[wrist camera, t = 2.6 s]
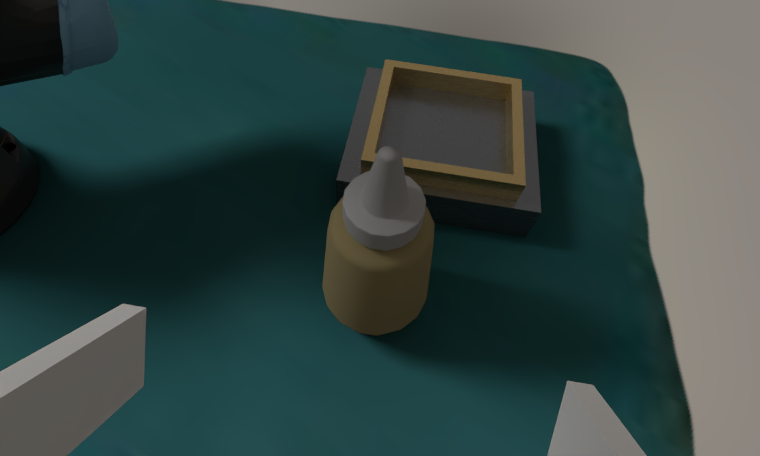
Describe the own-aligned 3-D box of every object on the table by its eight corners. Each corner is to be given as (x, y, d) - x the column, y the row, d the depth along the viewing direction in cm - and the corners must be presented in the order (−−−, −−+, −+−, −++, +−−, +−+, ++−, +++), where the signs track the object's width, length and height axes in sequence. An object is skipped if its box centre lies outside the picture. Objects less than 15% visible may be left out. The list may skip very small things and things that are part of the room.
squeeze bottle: (440, 298, 36) (505, 151, 20) (379, 371, 32) (403, 260, 17) (368, 243, 38) (379, 76, 23) (304, 306, 35) (267, 157, 19)
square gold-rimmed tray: (337, 206, 40) (335, 164, 35) (366, 96, 49) (368, 50, 44) (525, 236, 39) (550, 199, 34) (520, 120, 48) (540, 76, 43)
